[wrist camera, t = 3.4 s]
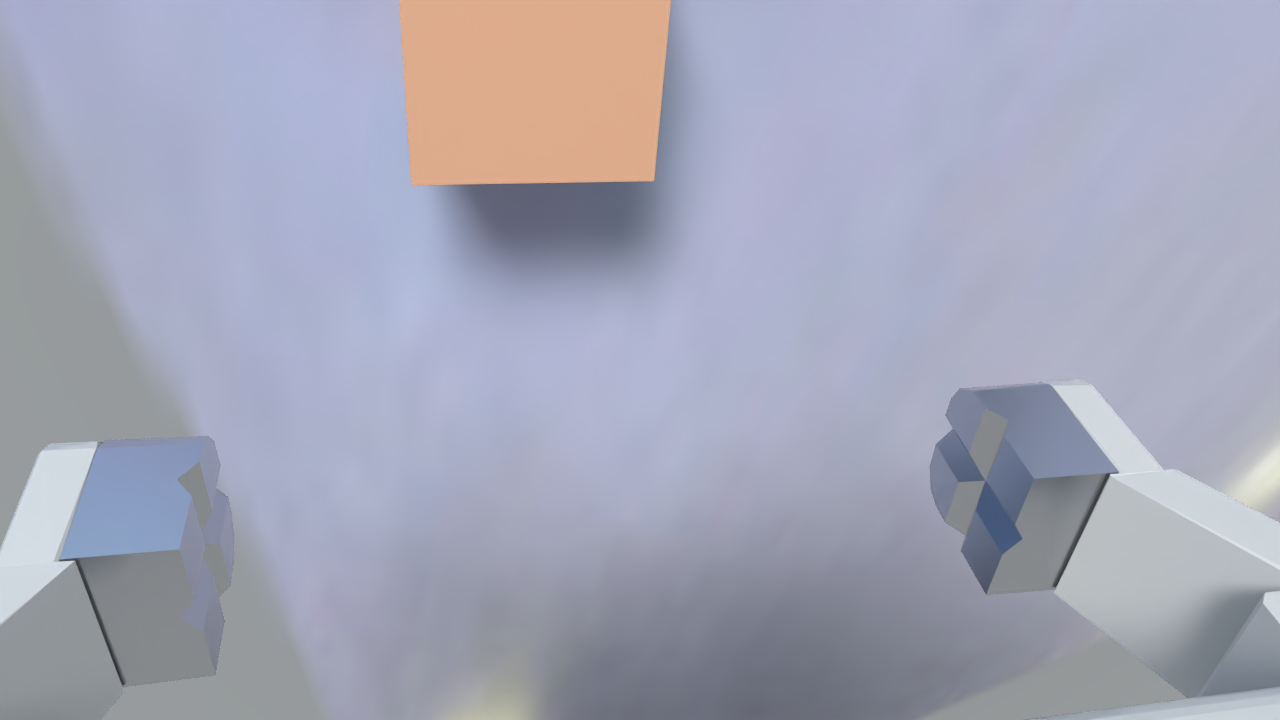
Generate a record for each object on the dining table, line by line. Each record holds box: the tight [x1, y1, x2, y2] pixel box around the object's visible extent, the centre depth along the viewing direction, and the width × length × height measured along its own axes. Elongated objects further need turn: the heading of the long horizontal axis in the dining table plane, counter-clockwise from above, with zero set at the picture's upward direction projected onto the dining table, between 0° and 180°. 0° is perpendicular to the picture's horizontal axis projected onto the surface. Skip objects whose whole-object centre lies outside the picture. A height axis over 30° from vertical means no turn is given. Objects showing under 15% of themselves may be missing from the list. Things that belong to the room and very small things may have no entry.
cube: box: [399, 0, 671, 185], centre depth 22 cm, size 5×5×5 cm
